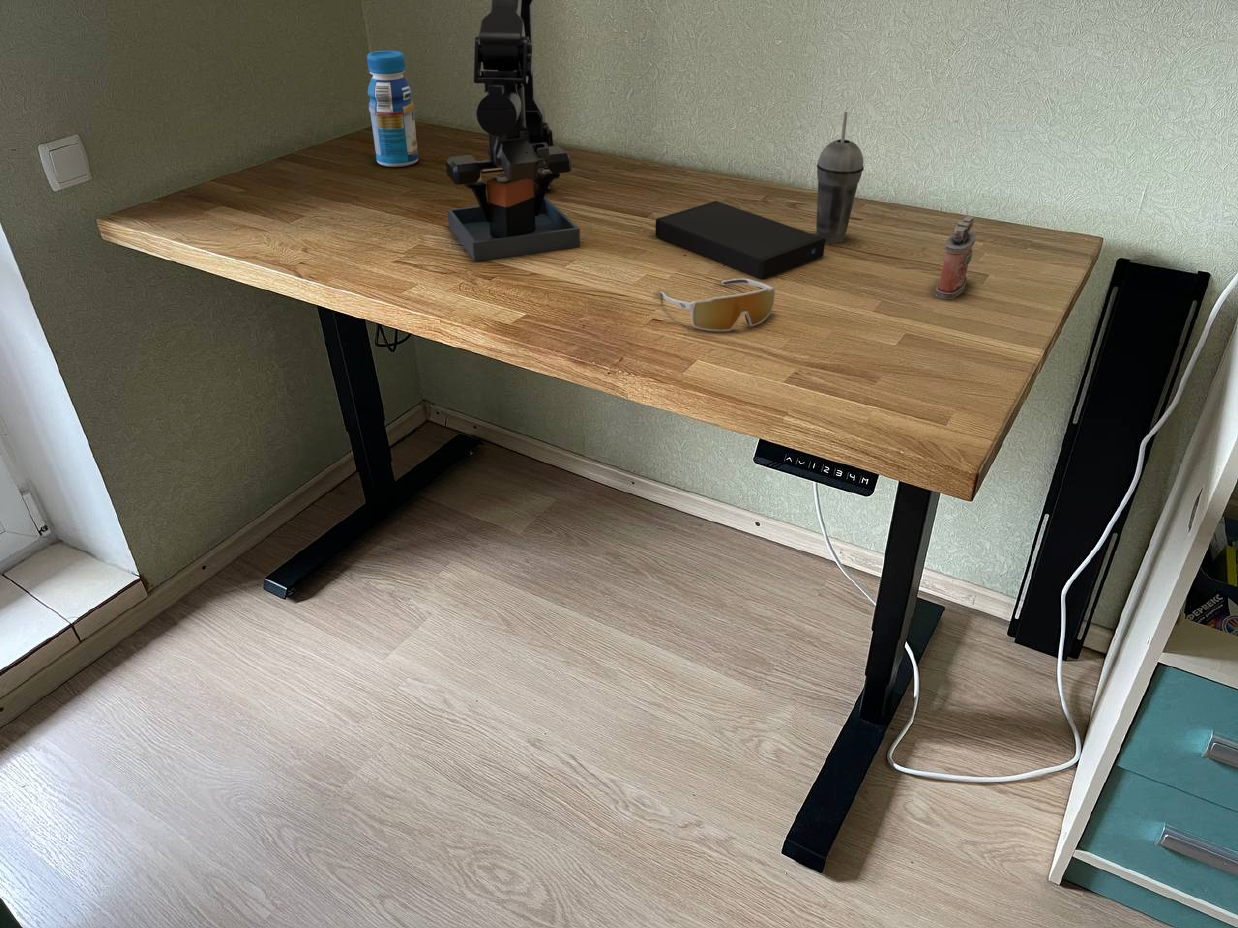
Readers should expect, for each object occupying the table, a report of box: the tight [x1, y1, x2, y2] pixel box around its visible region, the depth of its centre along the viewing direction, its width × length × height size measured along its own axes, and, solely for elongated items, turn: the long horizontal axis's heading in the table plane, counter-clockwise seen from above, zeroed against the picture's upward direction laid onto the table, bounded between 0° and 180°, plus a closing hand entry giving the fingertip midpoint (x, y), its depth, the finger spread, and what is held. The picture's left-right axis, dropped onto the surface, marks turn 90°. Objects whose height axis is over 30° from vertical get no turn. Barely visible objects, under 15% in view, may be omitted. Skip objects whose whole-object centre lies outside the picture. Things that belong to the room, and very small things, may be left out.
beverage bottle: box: [366, 50, 419, 168], centre depth 183 cm, size 8×8×20 cm
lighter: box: [935, 215, 977, 300], centre depth 136 cm, size 8×3×10 cm, turn 148°
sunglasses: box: [659, 278, 776, 332], centre depth 131 cm, size 14×15×5 cm
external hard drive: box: [654, 200, 826, 280], centre depth 151 cm, size 14×23×3 cm, turn 41°
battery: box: [486, 173, 536, 238], centre depth 151 cm, size 4×7×10 cm, turn 143°
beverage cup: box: [815, 111, 865, 244], centre depth 150 cm, size 7×7×20 cm
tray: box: [446, 197, 581, 262], centre depth 154 cm, size 16×17×3 cm
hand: (512, 218), depth 153 cm, fingers closed on battery, 8 cm apart
